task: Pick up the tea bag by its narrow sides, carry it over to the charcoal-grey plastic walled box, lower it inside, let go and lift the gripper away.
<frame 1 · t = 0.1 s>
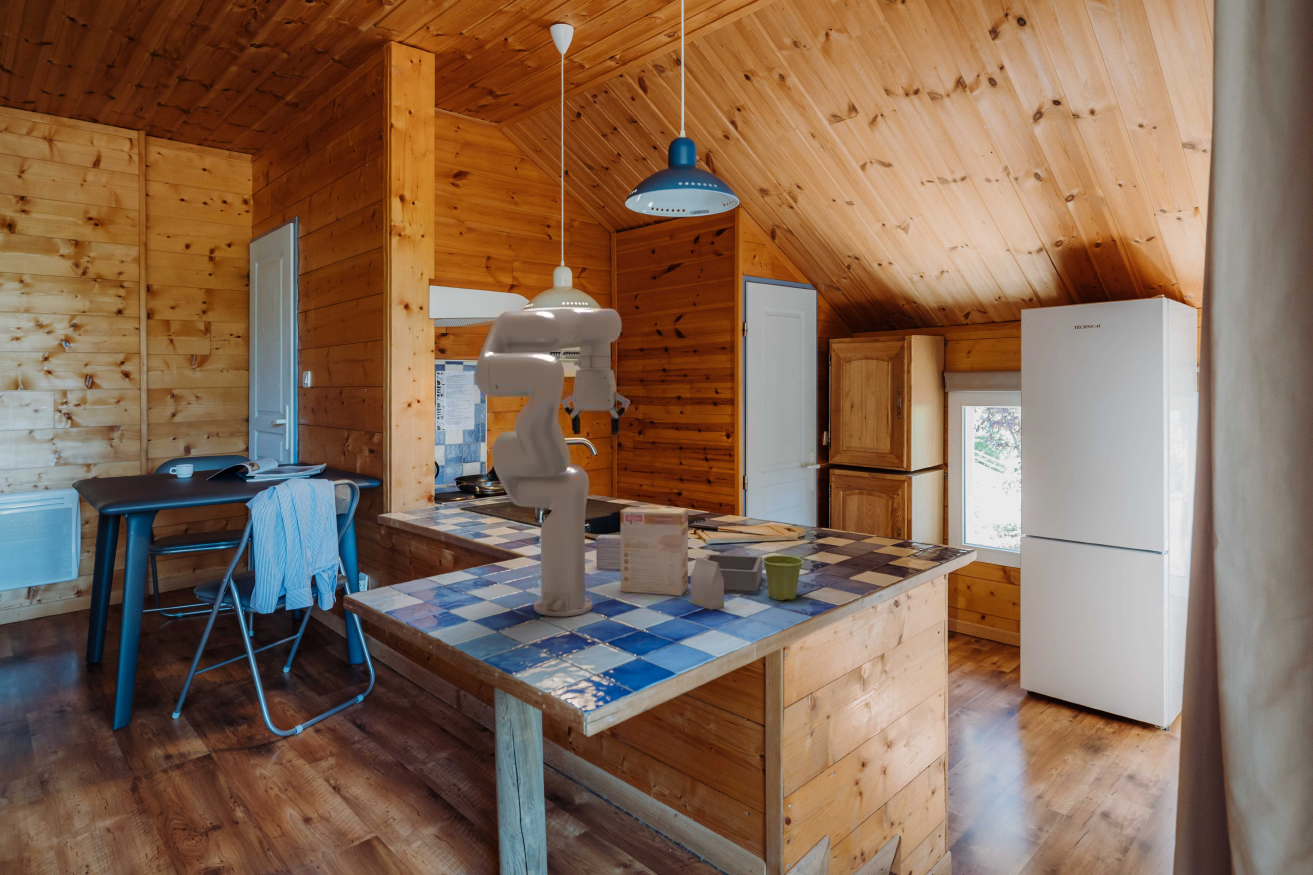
hand: (595, 434, 183), 37 cm above the kitchen counter, tool pointing down, fingers open, 9 cm apart
plant pot: (782, 597, 171), on the kitchen counter
medicine box: (612, 569, 199), on the kitchen counter
coffeecake box: (654, 591, 177), on the kitchen counter
walled box: (730, 584, 182), on the kitchen counter
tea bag: (706, 605, 166), on the kitchen counter
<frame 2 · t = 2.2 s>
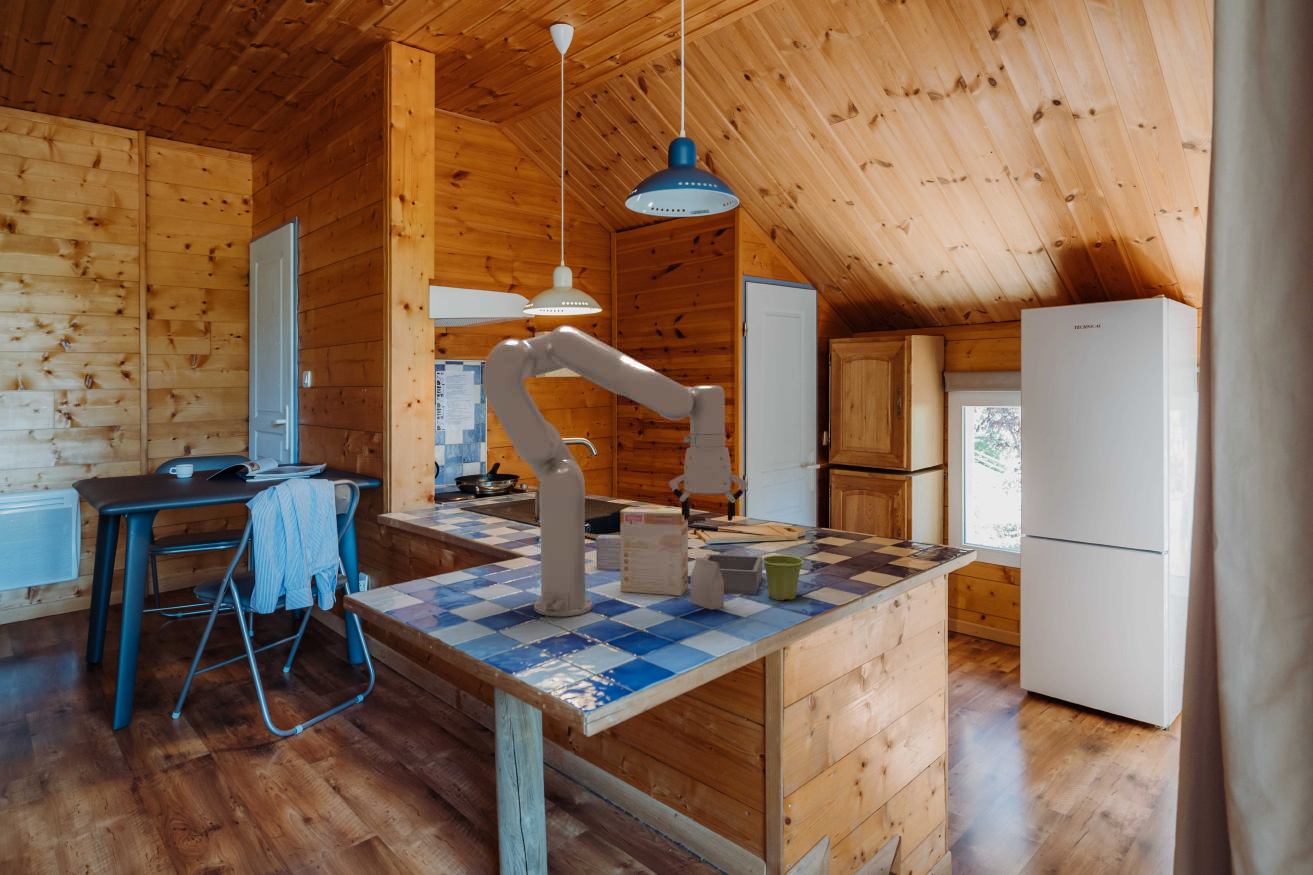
hand: (708, 519, 164), 19 cm above the kitchen counter, tool pointing down, fingers open, 9 cm apart
nothing on the kitchen counter moved.
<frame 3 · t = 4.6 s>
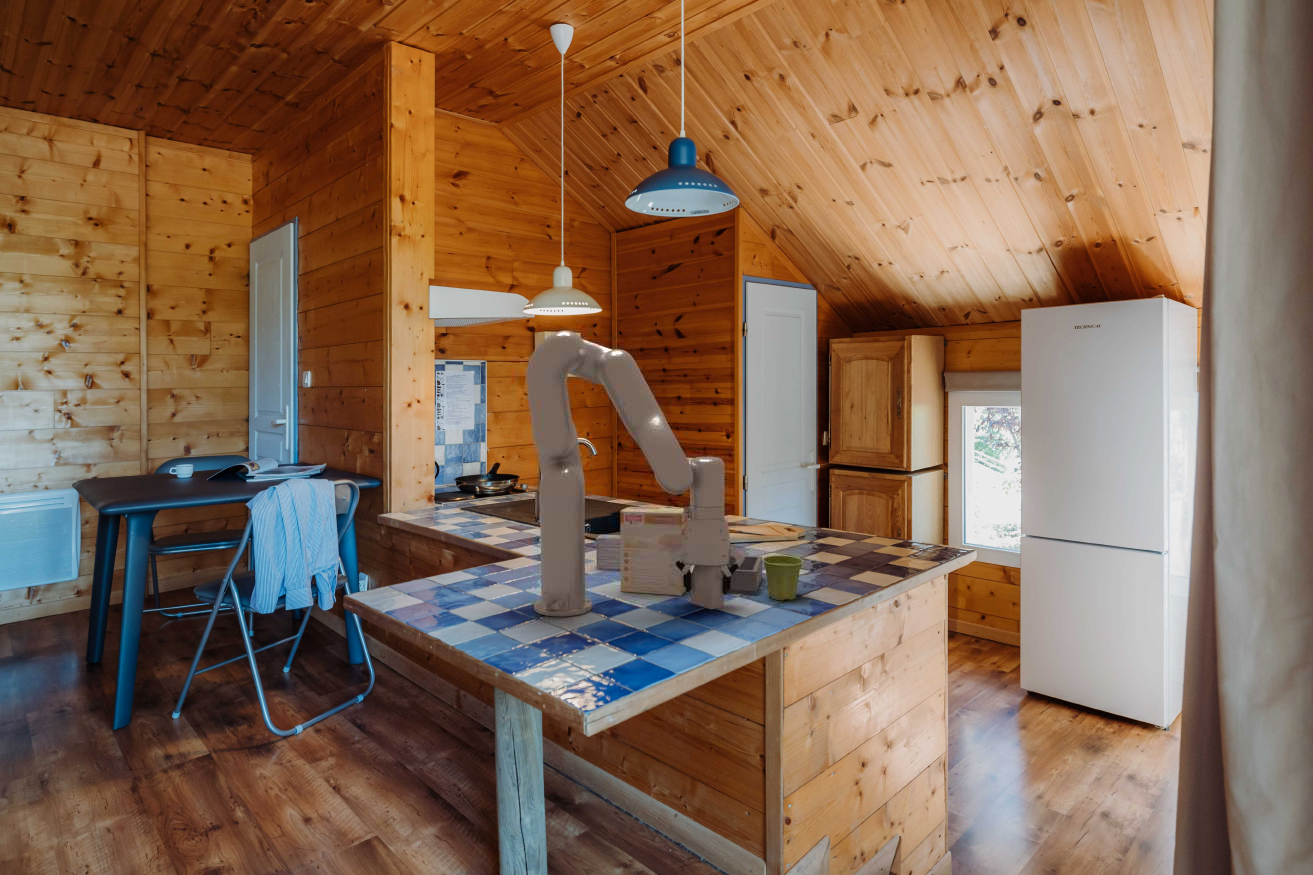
hand: (707, 591, 165), 3 cm above the kitchen counter, tool pointing down, fingers closed on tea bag, 7 cm apart
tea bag: (707, 605, 166), on the kitchen counter, touching gripper
everything else where it was.
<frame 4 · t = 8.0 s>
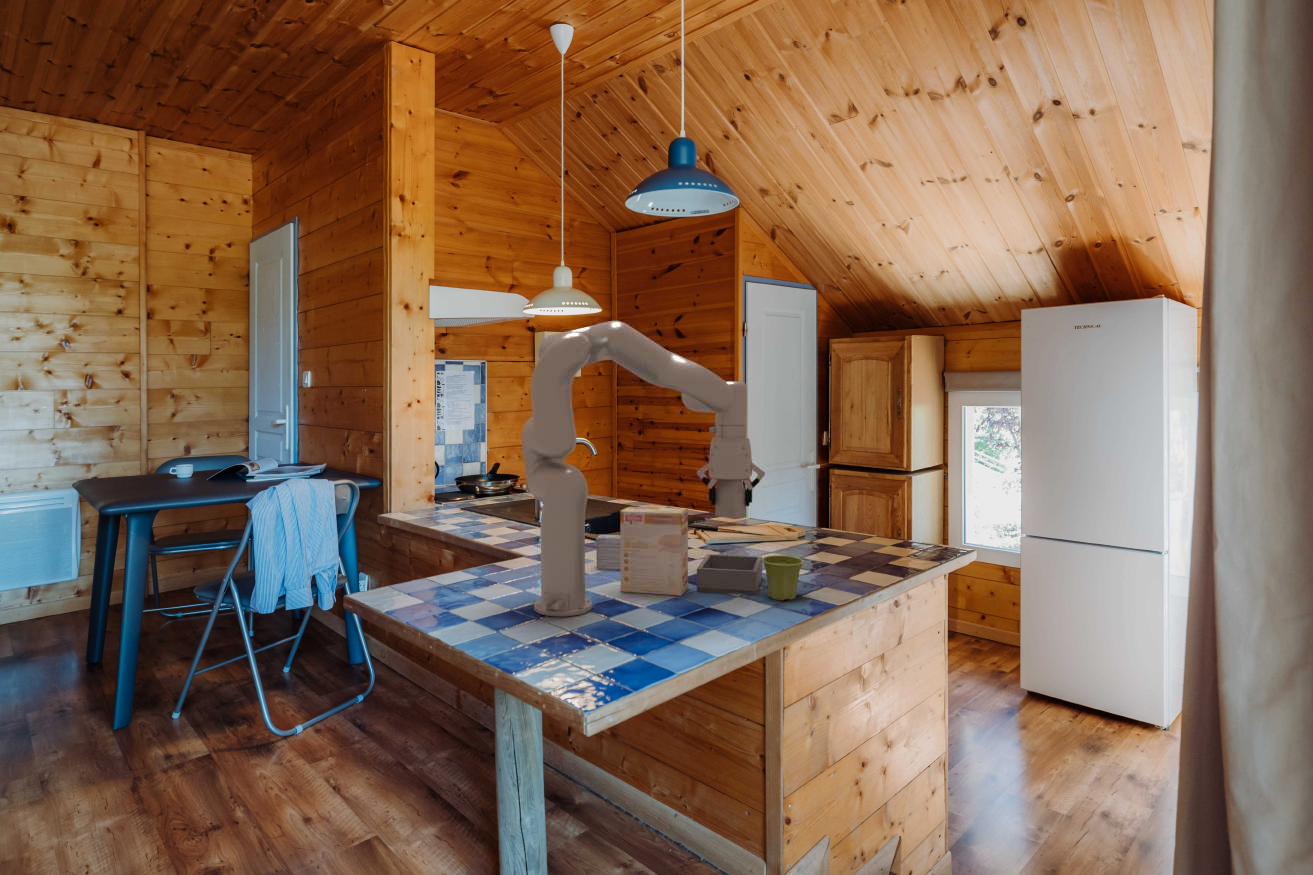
hand: (730, 504, 181), 20 cm above the kitchen counter, tool pointing down, fingers closed on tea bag, 7 cm apart
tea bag: (730, 517, 181), point 17 cm above the kitchen counter, touching gripper
everything else where it was.
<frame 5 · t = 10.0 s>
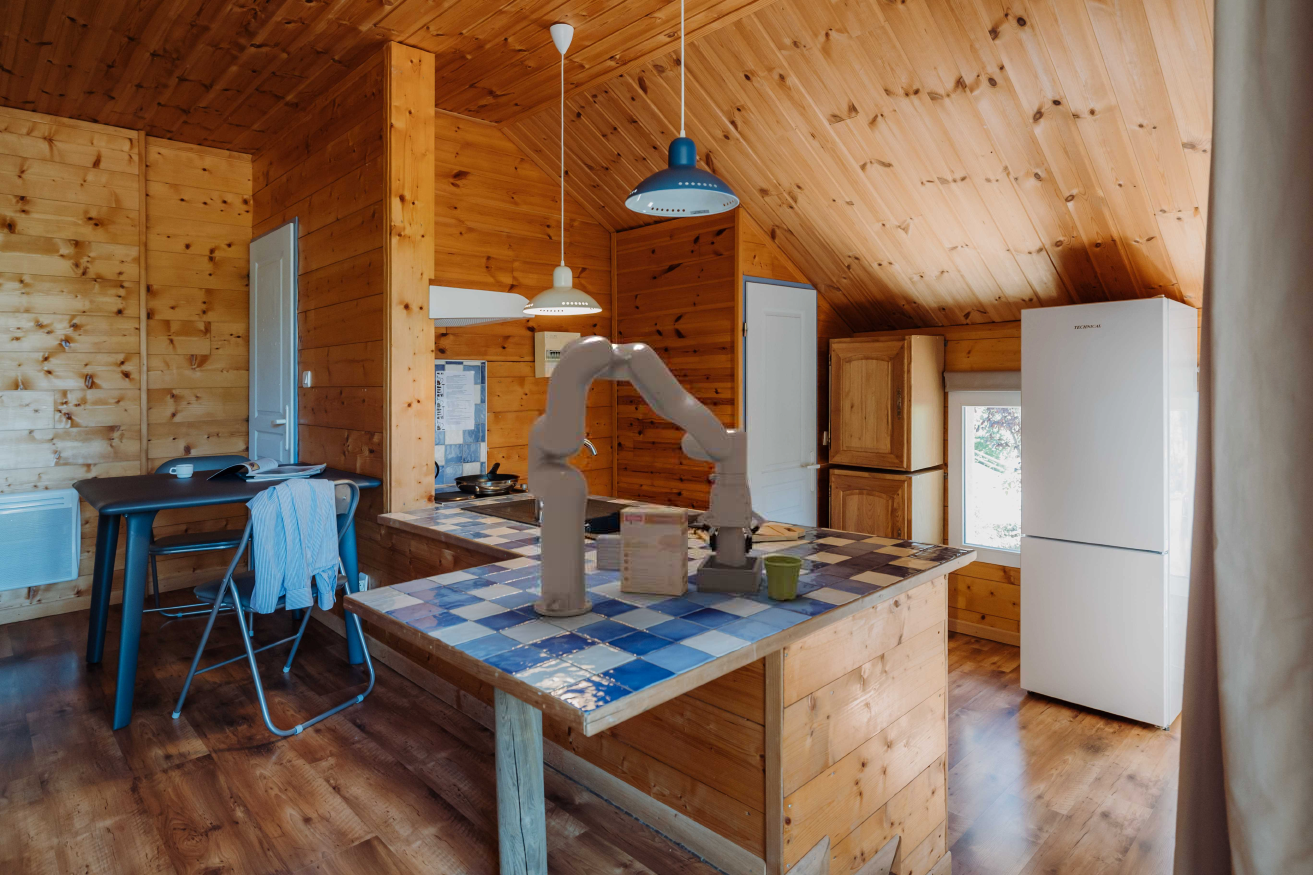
hand: (730, 551, 182), 8 cm above the kitchen counter, tool pointing down, fingers closed on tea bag, 7 cm apart
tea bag: (730, 563, 182), point 5 cm above the kitchen counter, touching gripper
everything else where it was.
when the fingers open (6 cm above the kitchen counter, at t = 11.6 s): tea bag drops 2 cm, resting on walled box.
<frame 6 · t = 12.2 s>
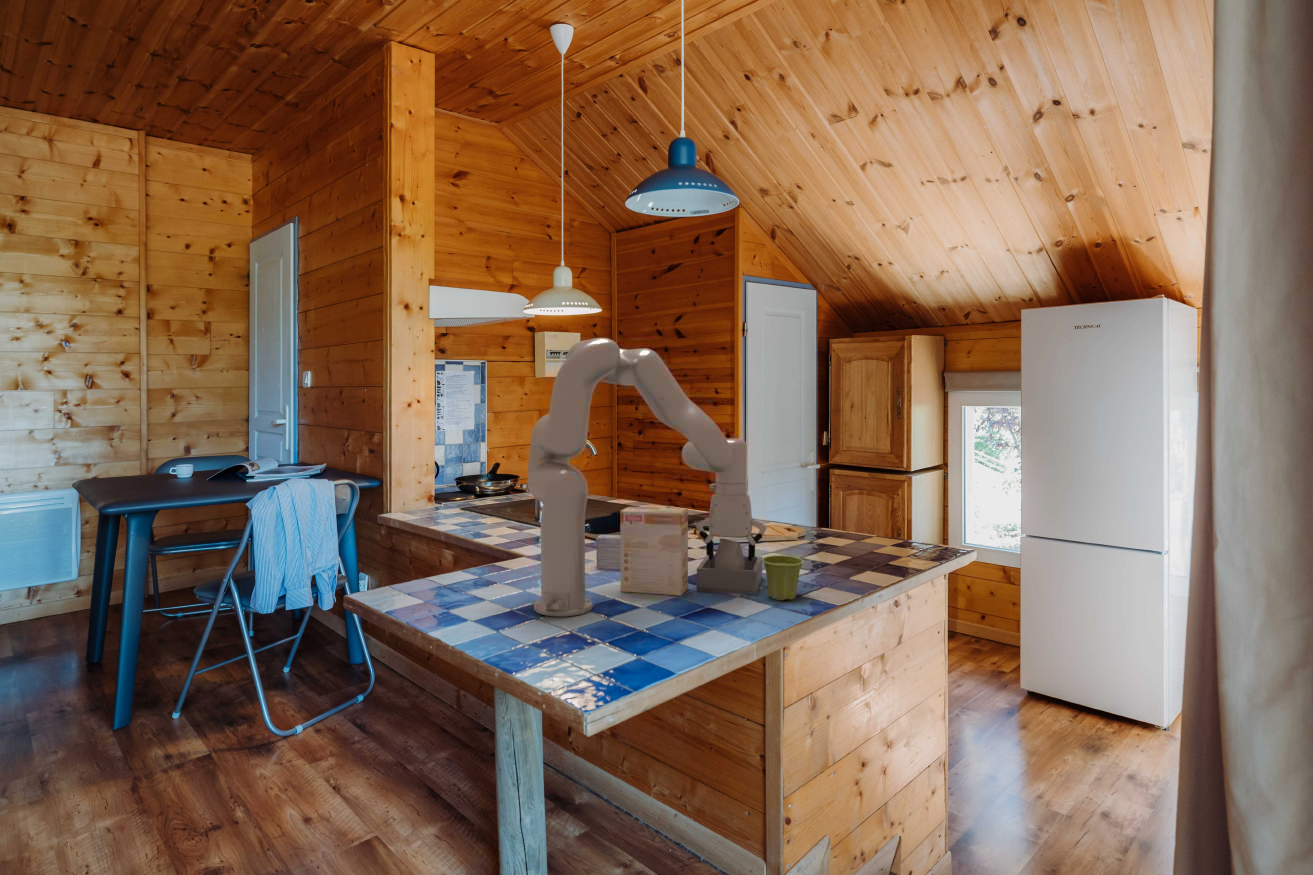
hand: (730, 559, 182), 6 cm above the kitchen counter, tool pointing down, fingers open, 9 cm apart
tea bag: (729, 581, 182), point 1 cm above the kitchen counter, touching walled box
everything else where it was.
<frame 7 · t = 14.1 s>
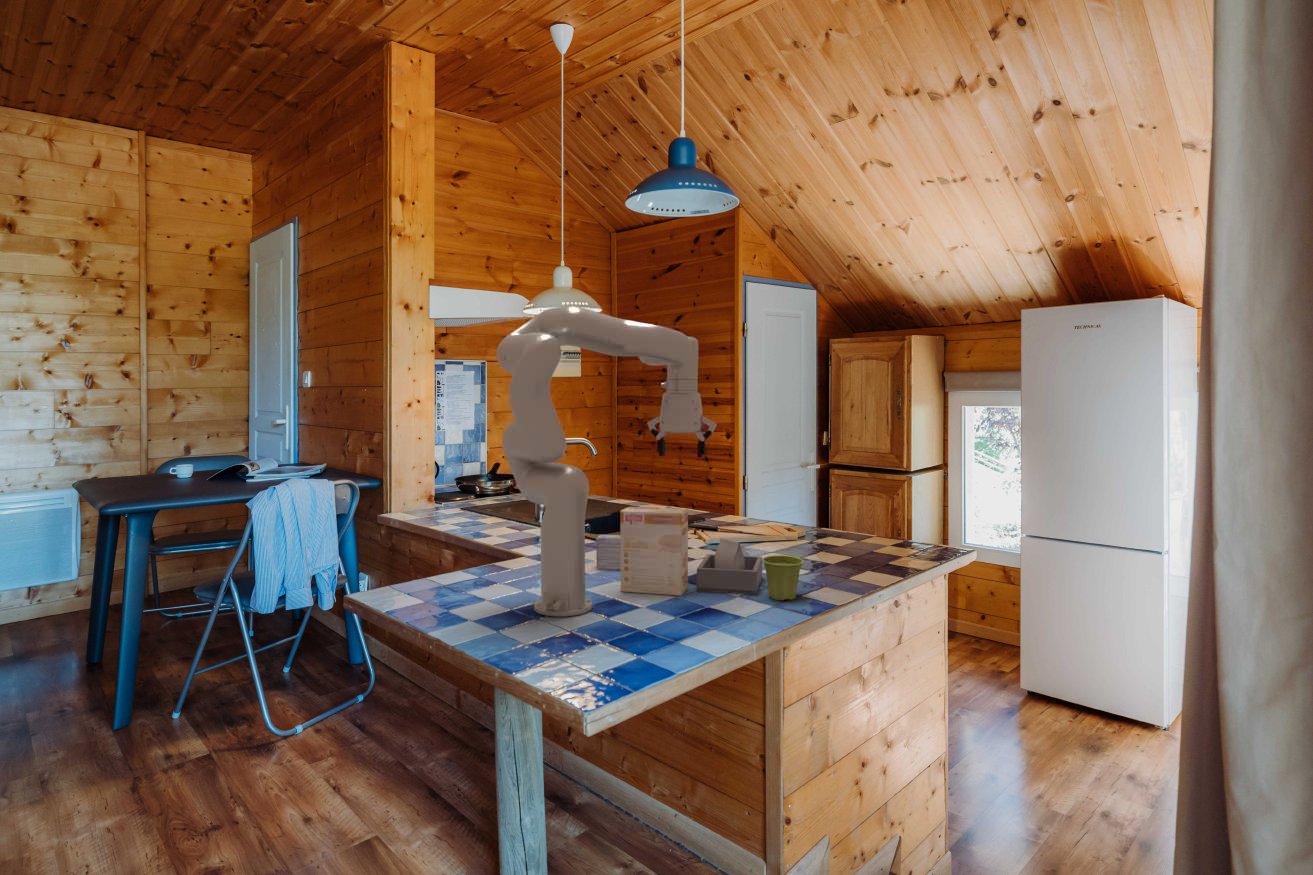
hand: (680, 456, 184), 31 cm above the kitchen counter, tool pointing down, fingers open, 9 cm apart
nothing on the kitchen counter moved.
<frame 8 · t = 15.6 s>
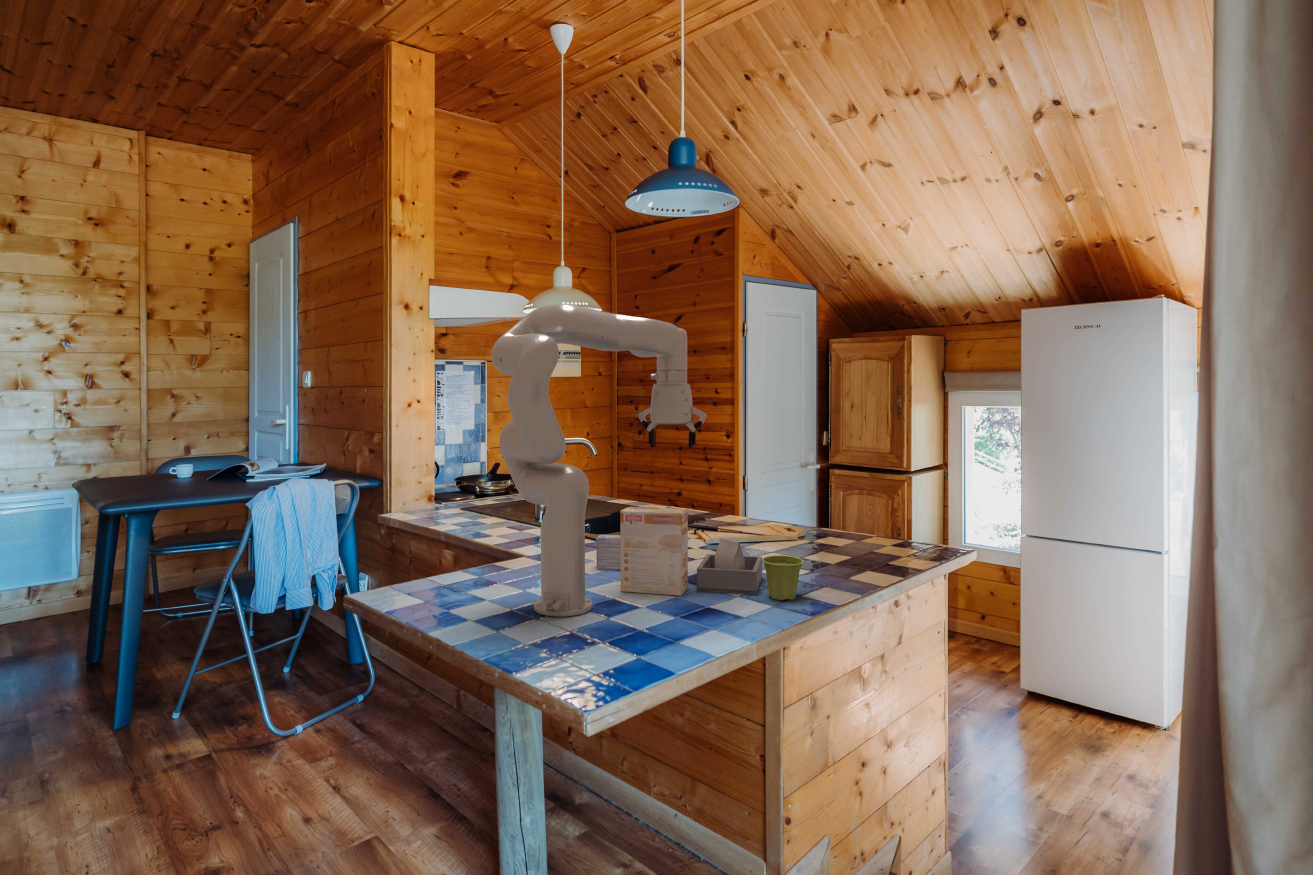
hand: (672, 447, 186), 33 cm above the kitchen counter, tool pointing down, fingers open, 9 cm apart
nothing on the kitchen counter moved.
at the end: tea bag inside the target area on the walled box (0.4 cm from its centre), point 0.8 cm above the walled box's base; the gripper is holding nothing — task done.
